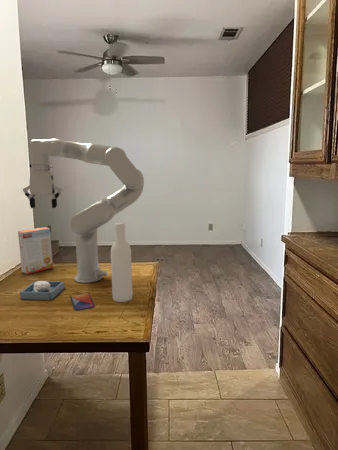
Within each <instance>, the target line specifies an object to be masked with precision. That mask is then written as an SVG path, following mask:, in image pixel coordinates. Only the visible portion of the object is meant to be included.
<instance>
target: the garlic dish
mask: <svg viewBox="0 0 338 450" xmlns="http://www.w3.org/2000/svg"><path fill="white" fill-rule="evenodd" d="M37 281H38V280H35V281H33V282H32V283H30V284H29V285H27V286H26V287H25V288H23V289H22V290H21V291H20V292H19V297H20V300H35V301H36V300H44V301H45V300H46V301H50V300H53V299H55V297H57V295H59V294H60V293H61V292H62V291H63V290H64V289H65V287H66V286H65V281H63V280H62V281H61V280H46V281H47V282H49V283H50V287H51V291H49V290H46V291H39V292H36V291H34V283H36V282H37ZM37 291H38V290H37Z"/></svg>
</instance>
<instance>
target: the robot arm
mask: <svg viewBox="0 0 338 450" xmlns="http://www.w3.org/2000/svg"><path fill="white" fill-rule="evenodd" d="M29 150H30V151H29V152H30V164H31V165H30V166H31V171H30V173H29V185H28V186H26V187H24V188H22V191H23V193H24V195H25V196H26V197H27V199H28V200H29V206H30V209H35V208H36V199H35V197H36V195H37V196H39V195H40V196H42V195H43V196H46V195H47V196H48V195H49V196H50V197H51V208H52V209H55V208H57V206H58V201H57V200H58V197H60V195H61V194H62V190H63V188H62V187H59V186H58V185H56V184H55V178H54V174H53V171H51V170H53V169H54V166H53V165H51V164H50V157H55V158H56V157H57V158H58V157H59V158H65V159H66V158H67V159H72V160H73V159H74V160H79V161H81V162H84V163H87V164H93V165H99V166H107V167H109V168H110V170H111V172H113V173H114V175H115V176H116V177H117V178H118V180H119V181H120V183H122V185H123V186H122V187H121V188H119V189H118V190H116V191H114V192H113V193H112V194H109V195H108V196H106V197H104V198H102V199H99V200H98V201H96V202H95V203H93V204H91V205H90V206H88V207H86V208H85V209H83V210H81V211H79V212H77V213H76V214H75V215H74V216H72V218H71V219H70V222H69V227H70V230H71V232H72V233H73V234H75V253H76V268H77V269H76V270H77V274H76V275H75V276H74V281H75V282H77V283H83V284H87V283H90V284H91V283H95V282H98V281H100V280H102V279H103V277H108V275H109V273H108V271H107V270H101V267H99V250H98V229H99V228H100V227H102V226H103V225H106V224H107V223H109V222H110V221H111V220H112V219H113V218H114V217H115V216H116V215H117V214H119V213H120V212H122V211H123V210H125V209H126V208H128V207H130V206H131V205H132V204H134V203H135V202H136V201H137V200H138V199H140V196H141V195H142V193H143V190H144V186H145V185H144V183H145V181H144V179H145V178H144V174H143V173H142V172H141V170H139V169H137V167H136V166H135V165H134V164H133V163H132V161H131V160H130V159H129V157H128V156H127V154H126V152H125V150H124V149H122V148H120V147H118V146H109V145H102V144H96V143H90V142H88V143H87V142H86V143H81V142H74V141H69V140H64V139H63V140H62V139H59V138H49V139H31V140H30V142H29ZM28 190H29V191H28Z"/></svg>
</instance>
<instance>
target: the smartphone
mask: <svg viewBox="0 0 338 450" xmlns="http://www.w3.org/2000/svg"><path fill="white" fill-rule="evenodd" d="M70 299H71V304H72V306H73V310H74V311H83V310H89V309H94V308H95V303H94V301H93V299H92V297H91V294H90V293H89V292H82V293H75V294H70Z"/></svg>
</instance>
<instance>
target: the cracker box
mask: <svg viewBox="0 0 338 450" xmlns="http://www.w3.org/2000/svg"><path fill="white" fill-rule="evenodd" d="M17 237H18V245H19V257H20V265H21V272H22V273H23V274H26V275H29V274H33V273H38V272H42V271H45V270H50V269H53V268H54V264H53V250H52V240H51V239H52V238H51V229H50V228H49V227H46V226H44V227H37V228H29V229H23V230H18V231H17Z"/></svg>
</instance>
